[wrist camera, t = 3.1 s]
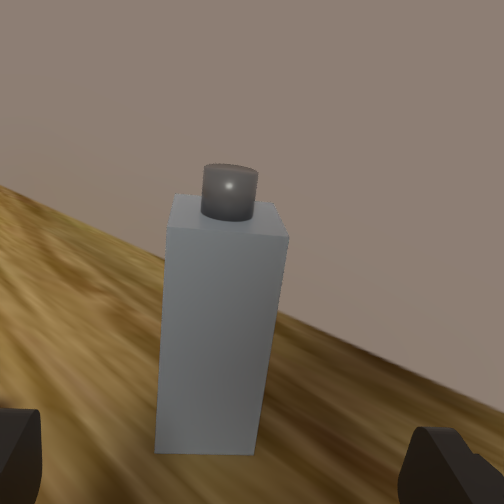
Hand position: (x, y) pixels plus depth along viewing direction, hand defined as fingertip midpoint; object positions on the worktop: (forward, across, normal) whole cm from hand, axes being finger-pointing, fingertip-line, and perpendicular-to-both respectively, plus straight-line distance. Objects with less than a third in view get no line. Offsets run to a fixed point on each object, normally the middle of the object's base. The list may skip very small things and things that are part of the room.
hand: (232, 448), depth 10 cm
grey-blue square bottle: (+12, 0, +10) cm, 16 cm away
